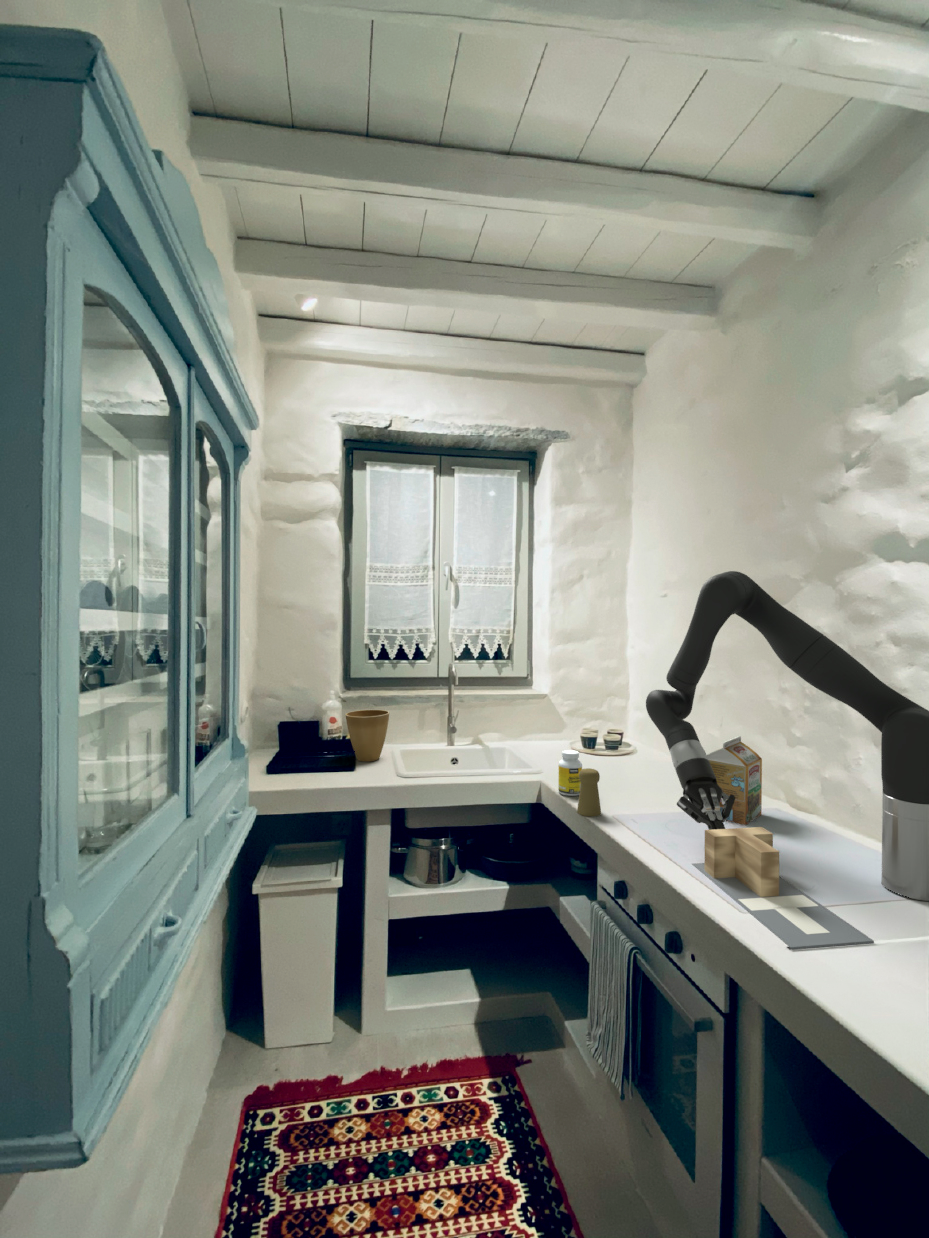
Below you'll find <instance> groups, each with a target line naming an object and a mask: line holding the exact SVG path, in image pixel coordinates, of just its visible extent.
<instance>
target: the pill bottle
mask: <svg viewBox="0 0 929 1238" xmlns="http://www.w3.org/2000/svg"><path fill="white" fill-rule="evenodd" d="M561 757H562V759H560V760H559V762H558V792H559V793H560V794H561V795H563V796H568V797H576V796H579V794H580V787H581V781H580V780H579V772H580V771H581V770H582V769H583V763H582V762H581V760H579V758H580V752H579V751H578V750H574V749H566V750H562V751H561Z"/></svg>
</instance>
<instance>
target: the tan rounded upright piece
mask: <svg viewBox="0 0 929 1238" xmlns="http://www.w3.org/2000/svg"><path fill="white" fill-rule="evenodd" d="M600 777H601V776H600V772H599V771H598V769H595V768H589V767H588V768H582V770H581V771H580V772H579V780H580V781H581V787H580V794H579V795H578V802H577V803H578V804H577V809H576V811H577V812H576V813H577V814H578V815H580V816H583V817H590V818H591V817H598V816H601V815H602V809H601V808H602V807H601V800H600V793H599V786H598V783H599V782H600V779H601V778H600Z"/></svg>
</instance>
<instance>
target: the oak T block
mask: <svg viewBox="0 0 929 1238" xmlns="http://www.w3.org/2000/svg"><path fill="white" fill-rule="evenodd" d="M773 841H774V833H772V832H771V831H769V830H767V829H766V828H764V827H762V826H756V827H734V828H725V829H713V830H709V829H704V863H705V871H706V872H707V873H708V874H709V875H711V876H712V877H713V878H728V877H736V878H737V879H738V880H739V881H741V882H742V883H743V884H745V885H746V886H747V887H748V888H750V889H751V890H752V891H754V892H755V893H756V894H757V895H759V896H760V897H769V896H779V876H780V851H779V850H777V849H776V848H774V846H773V845H774V844H773V843H774V842H773Z"/></svg>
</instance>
